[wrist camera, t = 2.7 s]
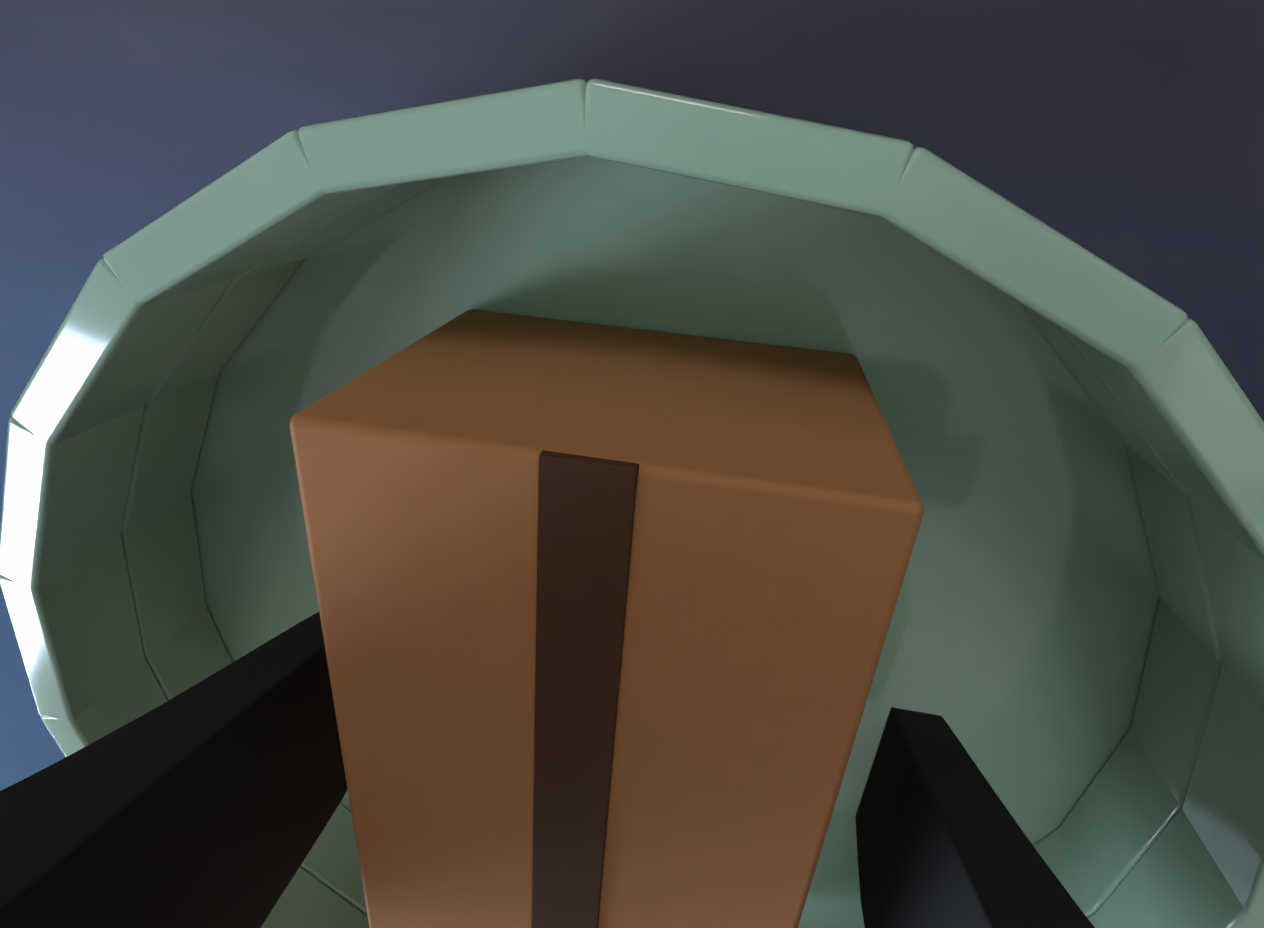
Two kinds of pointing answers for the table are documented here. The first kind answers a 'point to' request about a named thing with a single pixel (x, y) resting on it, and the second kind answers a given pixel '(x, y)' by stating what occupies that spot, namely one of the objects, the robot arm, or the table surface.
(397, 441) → the taped cardboard box
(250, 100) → the table surface
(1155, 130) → the table surface
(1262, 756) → the pan
